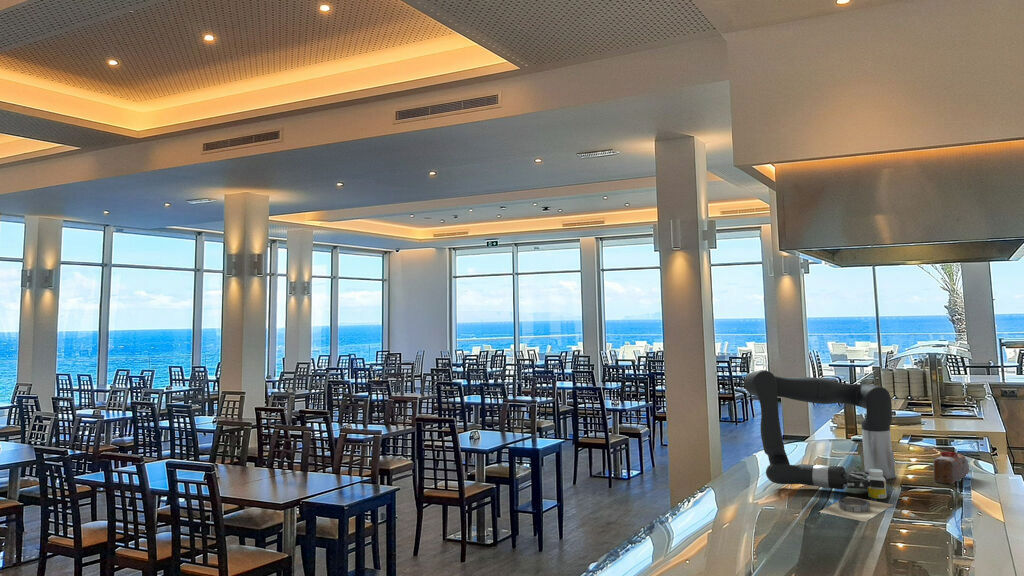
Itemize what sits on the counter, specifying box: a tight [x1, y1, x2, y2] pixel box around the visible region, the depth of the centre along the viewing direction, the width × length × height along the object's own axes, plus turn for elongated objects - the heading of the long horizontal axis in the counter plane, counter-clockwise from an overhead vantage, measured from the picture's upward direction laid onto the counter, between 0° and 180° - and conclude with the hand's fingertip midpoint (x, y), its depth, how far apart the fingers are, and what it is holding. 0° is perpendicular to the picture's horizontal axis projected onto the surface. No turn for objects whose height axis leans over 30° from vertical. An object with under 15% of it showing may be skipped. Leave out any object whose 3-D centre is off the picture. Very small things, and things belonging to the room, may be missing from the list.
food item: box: [932, 451, 970, 484], centre depth 235 cm, size 14×8×10 cm, turn 129°
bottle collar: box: [837, 497, 870, 513], centre depth 209 cm, size 9×9×2 cm
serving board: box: [818, 495, 893, 523], centre depth 209 cm, size 20×14×1 cm
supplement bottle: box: [866, 469, 887, 500], centre depth 219 cm, size 5×5×10 cm
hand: (885, 482), depth 218 cm, fingers closed on supplement bottle, 5 cm apart
